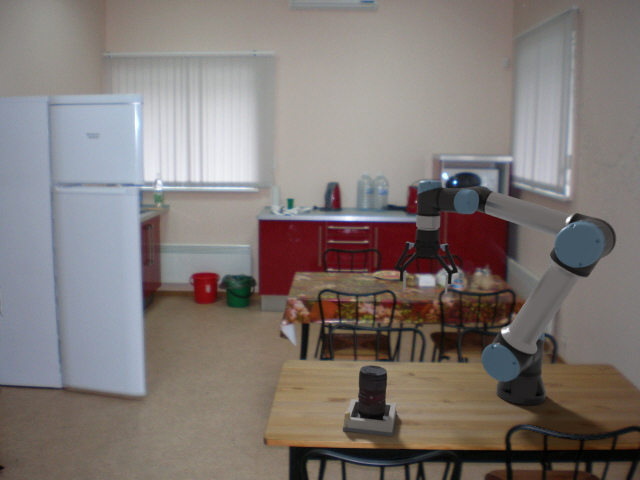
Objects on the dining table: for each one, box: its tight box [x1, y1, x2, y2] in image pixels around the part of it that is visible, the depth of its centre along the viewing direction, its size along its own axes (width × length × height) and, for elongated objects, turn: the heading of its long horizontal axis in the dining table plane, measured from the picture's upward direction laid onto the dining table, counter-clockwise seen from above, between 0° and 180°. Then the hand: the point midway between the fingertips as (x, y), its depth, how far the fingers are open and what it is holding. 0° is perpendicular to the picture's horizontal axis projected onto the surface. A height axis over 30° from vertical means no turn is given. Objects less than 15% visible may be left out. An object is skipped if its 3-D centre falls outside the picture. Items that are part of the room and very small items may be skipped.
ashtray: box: [342, 398, 398, 437], centre depth 173 cm, size 14×14×5 cm
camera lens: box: [357, 364, 388, 421], centre depth 173 cm, size 8×8×15 cm
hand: (424, 292), depth 197 cm, fingers open, 13 cm apart
